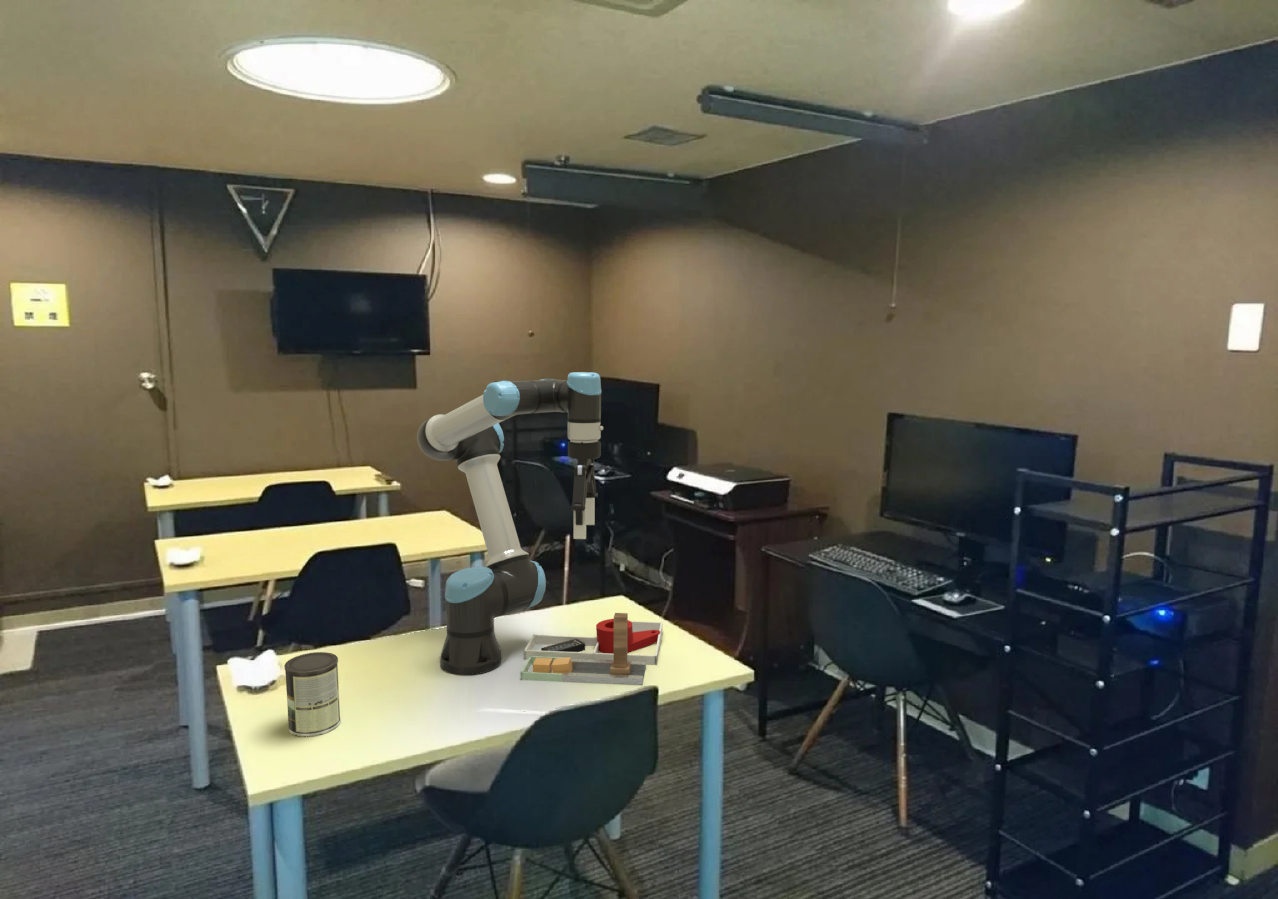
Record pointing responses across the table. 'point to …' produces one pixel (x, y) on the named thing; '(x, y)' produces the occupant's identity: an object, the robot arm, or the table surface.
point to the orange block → (562, 665)
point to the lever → (633, 642)
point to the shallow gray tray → (603, 672)
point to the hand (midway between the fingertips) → (584, 531)
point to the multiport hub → (566, 646)
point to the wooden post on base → (620, 646)
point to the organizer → (592, 641)
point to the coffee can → (312, 693)
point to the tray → (539, 676)
